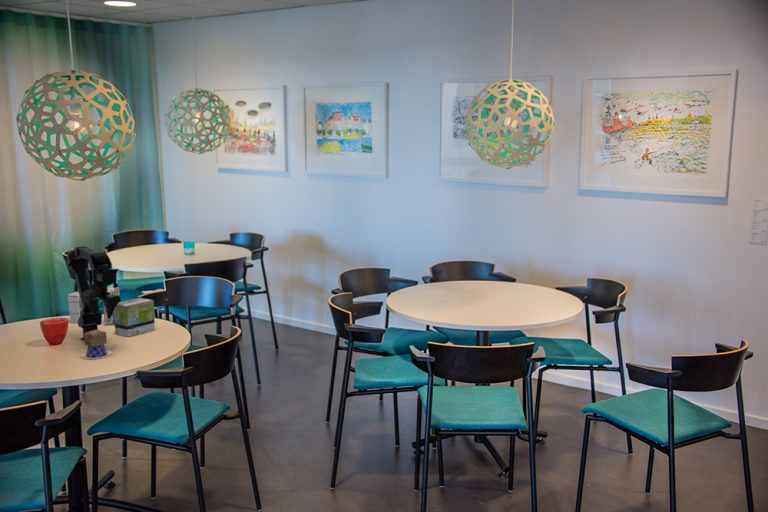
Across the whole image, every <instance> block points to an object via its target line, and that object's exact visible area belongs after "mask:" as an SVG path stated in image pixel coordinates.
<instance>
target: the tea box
mask: <svg viewBox="0 0 768 512" xmlns="http://www.w3.org/2000/svg"><path fill="white" fill-rule="evenodd" d="M114 317H115V325H114V333H115V335H117V336H118V335H119V336H122V337H126V338H129V337H133V336H136V335H139V334H143V333H148V332H151V331H152V332H153V331H155V330H156V329H155V328H156V327H155V300H153V299H150V298H149V299H148V298H143V297H138V298H133V299H128V300H125V301H121V302H119V304H117V306H116V307H115V309H114Z"/></svg>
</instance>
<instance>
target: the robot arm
mask: <svg viewBox="0 0 768 512" xmlns="http://www.w3.org/2000/svg"><path fill="white" fill-rule="evenodd" d="M65 264H66V266H67V268H68V271H69V272H70V273H71V275H72V276H74V279H75V282H76V286H77V287H76V288H77V292H79V295H80V299H81V303H82V308H81V311H80V317H79V320H78V323H77V325H78V327H79V328H81V329H82V337H81V338H80V339H79V340H81V341H84V333H87V332H90V331H94V330H99V329H98V326H102V322H103V321H102V320H103V313H102V312H101V311H100V306H99V301H102V302H104V303H105V304H103V303H102V304H103V305H102V306H103V307H104V306H105V307H106V310H107V316H108V319H109V318H111V316H112V314H113V311H114V309H115V307H116V306H117V304H119V302H122V297H121V295H120V296H118V295H110V293H109V292H108V289H109V288H108V287H110V286H111V285H114V284H115V282H116V279H117V276H116V274H115V273H114V272H112V271H111V269H113V263H112V261H111V259H110V256H109V254H107V252H106V251H95V250H93V249H90V248H88V246H86V245H85V246H77V247H74V249H73V251H72V252H70V253H69V254H68V255H67V257H66V258H65ZM88 266H89V267H90V271H91V278H92V283H91V284H89V281H88V277H87V274H86V272H87V270H88V268H89V267H88ZM107 295H110V296H107Z"/></svg>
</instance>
